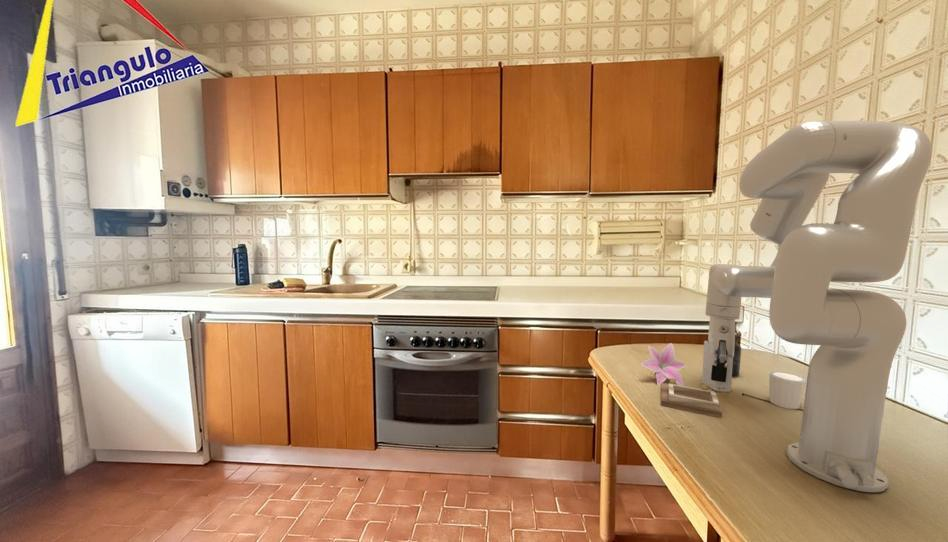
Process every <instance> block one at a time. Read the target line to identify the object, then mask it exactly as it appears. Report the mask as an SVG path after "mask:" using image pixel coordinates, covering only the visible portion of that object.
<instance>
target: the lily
mask: <svg viewBox="0 0 948 542" xmlns="http://www.w3.org/2000/svg"><path fill="white" fill-rule="evenodd" d="M647 349H648V351H649V353H650V356H651V357H650V358H648V359H646V360H643V361H642V362H641V363H640V366H641V367H643V368H646V369H647V370H651V371H652V372H654V375H653V376H655V377H656V384H657V386H661V384H662V383H665V381H666V380H667V379H669V380H670V378H673V379H676V385H682V386H685V382H684V379H683V377H682V374H681V373H680V370H681V369H684V368H686V367H687V364H686V363H684V362H682V361H680V360H678V359H676V353H675V352H676V351H675V347H674V344H673V343H672V342H671V343H668V344H667V345H666V346H665V347H664V348H663V349H662V350H661V351H659V350H658V349H656V348H655V347H653V346H650V345H648V347H647Z"/></svg>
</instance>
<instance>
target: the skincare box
mask: <svg viewBox="0 0 948 542" xmlns="http://www.w3.org/2000/svg"><path fill="white" fill-rule="evenodd" d="M727 353H728V352H727ZM716 354H720V351H719V348H718V351H717V352H716ZM718 358H719V357H717V359H718ZM702 361H703V362H702V376H701V377H702V380H701V383H702V382H703V383H702V384H706V385H708V388H710V389H712V390H713V391H714V392H720V393H721V392H722V393H724V392H725V393H728V392H729V393H730V392H731V390H732V380H733V377H732V366H733V357H732V358H731V357H730V356H729V355H728V354H727V375H726V382H719V381H713V380H711V372H712V365H714V355H713V354H712V353H711V352H710V346H709V341H708V340H704V341H703V356H702Z"/></svg>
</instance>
